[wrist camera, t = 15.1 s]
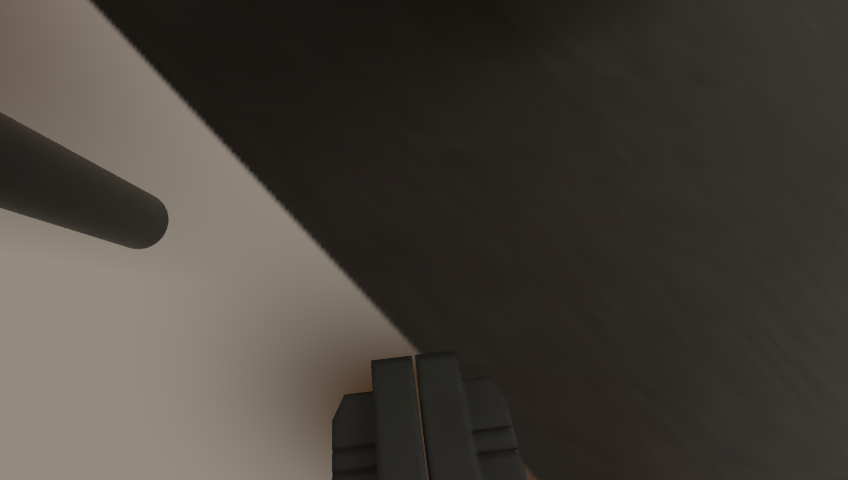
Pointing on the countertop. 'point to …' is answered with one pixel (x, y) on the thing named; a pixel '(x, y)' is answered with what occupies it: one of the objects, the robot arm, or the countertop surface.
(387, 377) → the robot arm
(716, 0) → the countertop surface
